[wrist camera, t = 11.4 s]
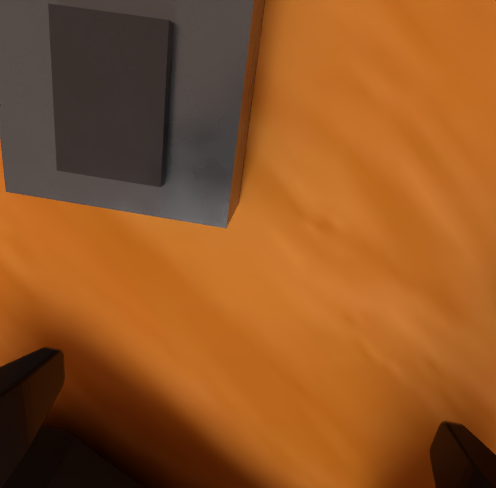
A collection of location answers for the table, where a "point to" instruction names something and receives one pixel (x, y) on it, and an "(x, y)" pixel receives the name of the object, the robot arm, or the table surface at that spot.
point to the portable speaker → (65, 465)
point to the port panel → (194, 109)
